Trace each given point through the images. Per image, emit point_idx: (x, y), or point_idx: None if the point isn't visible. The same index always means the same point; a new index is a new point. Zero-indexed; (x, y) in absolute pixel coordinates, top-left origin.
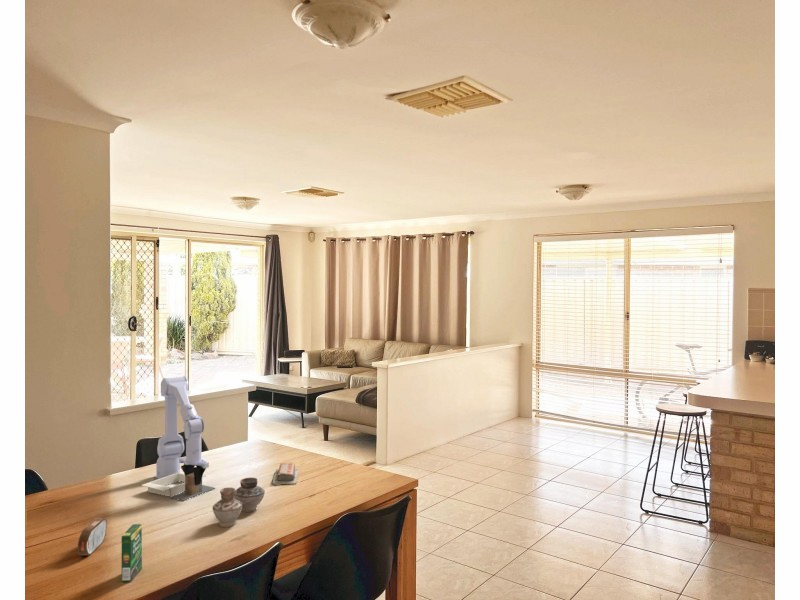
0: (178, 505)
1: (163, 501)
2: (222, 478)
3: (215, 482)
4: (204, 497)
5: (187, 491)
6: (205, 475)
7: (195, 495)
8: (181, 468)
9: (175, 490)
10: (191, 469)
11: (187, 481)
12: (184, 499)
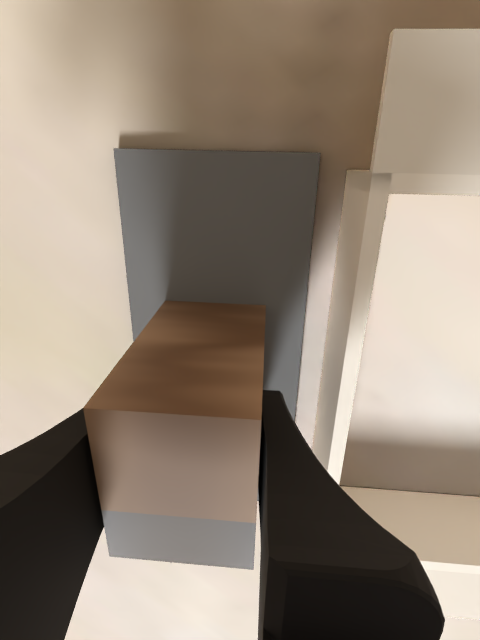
0: (51, 13)
1: (317, 14)
2: None
3: (259, 566)
4: (52, 322)
5: (227, 312)
6: None
7: (132, 308)
8: (398, 540)
9: (346, 253)
10: (260, 593)
11: (213, 368)
12: (125, 171)
